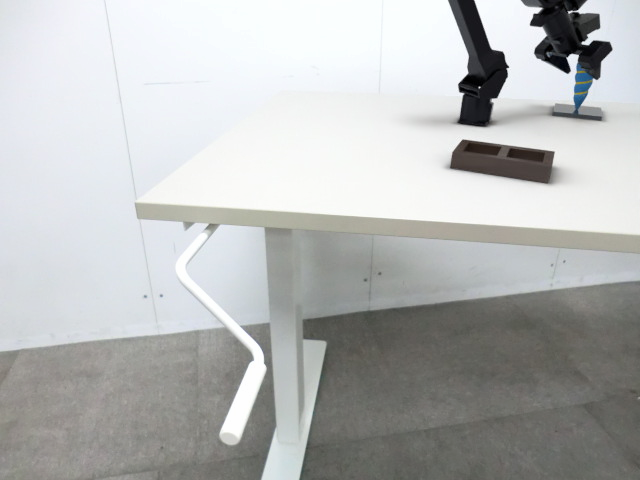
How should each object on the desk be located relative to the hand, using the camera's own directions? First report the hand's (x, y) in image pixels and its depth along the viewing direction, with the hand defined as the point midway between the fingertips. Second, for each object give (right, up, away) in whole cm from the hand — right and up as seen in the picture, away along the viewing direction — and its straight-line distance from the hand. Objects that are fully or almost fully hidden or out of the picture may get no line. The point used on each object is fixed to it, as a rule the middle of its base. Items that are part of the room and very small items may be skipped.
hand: (583, 75), depth 119 cm
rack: (-33, -28, -33) cm, 54 cm away
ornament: (+1, -7, +4) cm, 9 cm away
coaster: (+1, -8, +5) cm, 9 cm away
